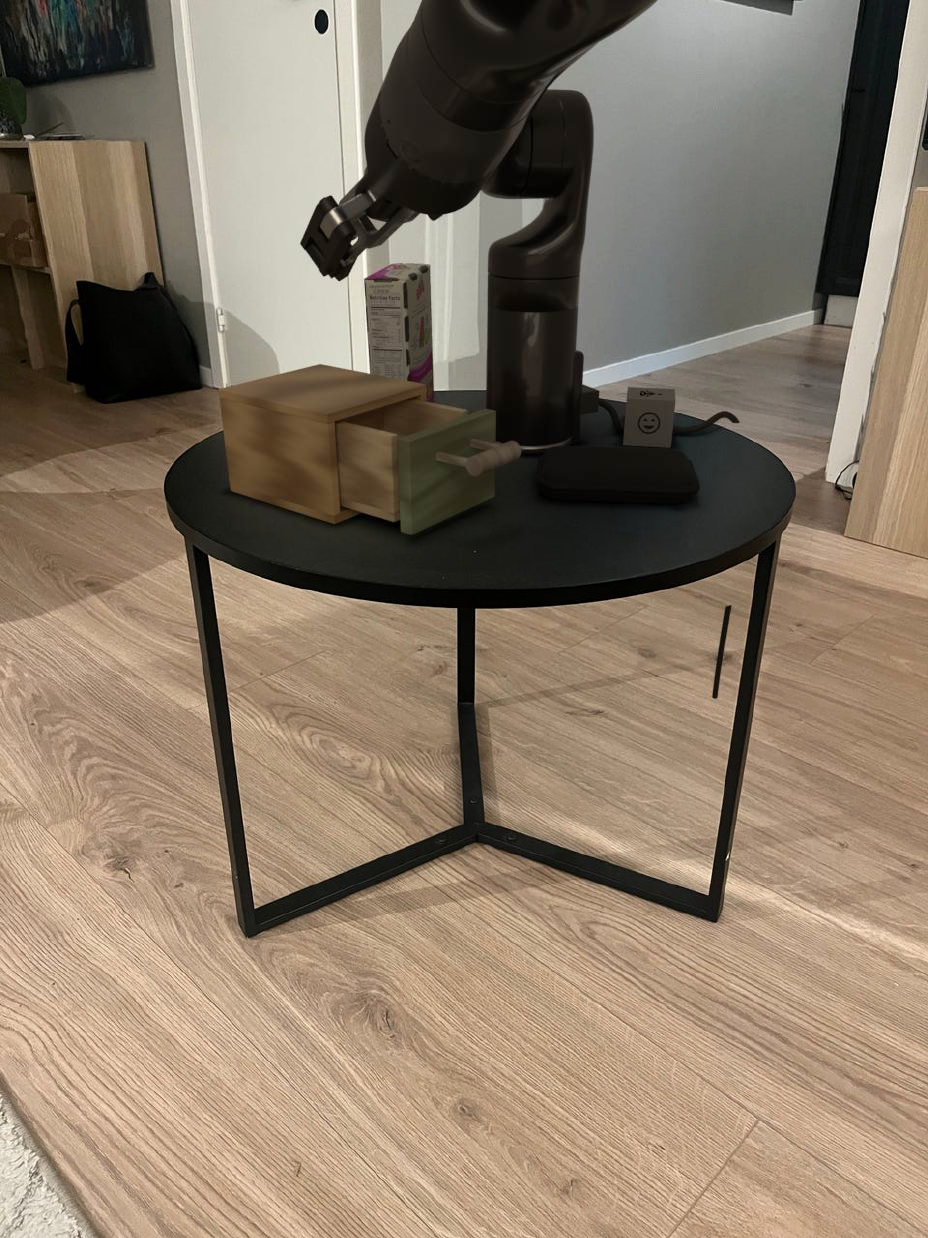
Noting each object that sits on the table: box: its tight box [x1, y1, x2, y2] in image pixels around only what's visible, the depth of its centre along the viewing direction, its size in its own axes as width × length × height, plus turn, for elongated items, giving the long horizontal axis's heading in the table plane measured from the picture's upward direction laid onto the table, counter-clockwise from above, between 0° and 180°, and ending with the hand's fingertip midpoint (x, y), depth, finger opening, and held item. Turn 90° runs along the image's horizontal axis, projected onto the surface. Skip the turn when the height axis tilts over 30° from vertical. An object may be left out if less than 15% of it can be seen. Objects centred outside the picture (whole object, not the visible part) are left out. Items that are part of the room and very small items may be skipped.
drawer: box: [334, 398, 522, 536], centre depth 81 cm, size 17×11×8 cm, turn 52°
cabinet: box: [218, 363, 427, 525], centre depth 87 cm, size 14×13×10 cm
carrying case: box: [535, 445, 701, 505], centre depth 89 cm, size 11×3×15 cm
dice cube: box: [622, 386, 676, 449], centre depth 102 cm, size 5×5×5 cm
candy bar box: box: [363, 262, 436, 403], centre depth 107 cm, size 11×5×16 cm, turn 168°
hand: (381, 237), depth 67 cm, fingers open, 8 cm apart
